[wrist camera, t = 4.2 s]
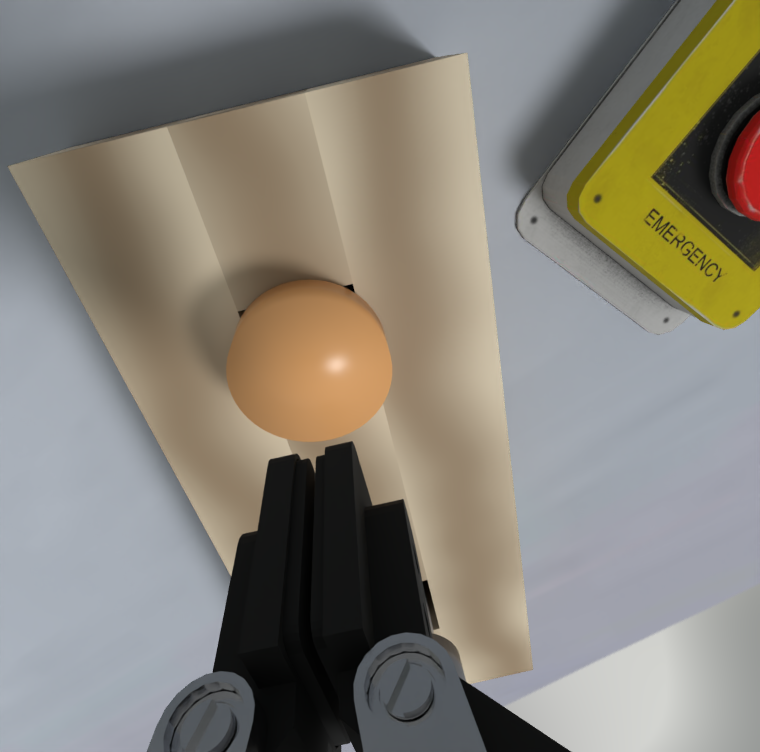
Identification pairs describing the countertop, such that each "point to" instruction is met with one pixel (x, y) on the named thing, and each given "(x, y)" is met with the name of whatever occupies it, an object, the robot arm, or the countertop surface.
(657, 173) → the emergency button
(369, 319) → the orange knob
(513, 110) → the countertop surface
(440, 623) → the control block
